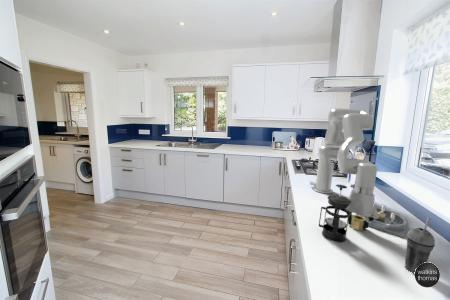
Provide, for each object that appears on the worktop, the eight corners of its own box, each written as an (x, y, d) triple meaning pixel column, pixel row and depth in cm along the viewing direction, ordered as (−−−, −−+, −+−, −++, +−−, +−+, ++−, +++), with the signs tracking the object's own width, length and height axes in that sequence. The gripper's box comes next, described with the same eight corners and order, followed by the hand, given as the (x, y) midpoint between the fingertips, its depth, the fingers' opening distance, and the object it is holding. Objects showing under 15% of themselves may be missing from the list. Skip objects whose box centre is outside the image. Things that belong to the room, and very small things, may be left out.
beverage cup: (394, 263, 78) (405, 211, 75) (413, 263, 79) (424, 211, 76) (413, 278, 71) (426, 222, 68) (433, 278, 72) (447, 222, 68)
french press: (347, 234, 96) (355, 184, 92) (348, 245, 88) (357, 191, 84) (318, 226, 101) (325, 179, 97) (317, 236, 93) (324, 185, 89)
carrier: (352, 221, 109) (354, 207, 107) (361, 209, 123) (363, 197, 122) (403, 238, 95) (406, 222, 94) (406, 222, 110) (409, 209, 109)
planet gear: (348, 227, 102) (350, 217, 101) (351, 223, 106) (353, 213, 106) (362, 232, 99) (364, 221, 98) (364, 227, 103) (366, 217, 102)
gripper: (340, 186, 102) (335, 221, 105) (385, 197, 91) (377, 236, 94) (344, 183, 108) (339, 216, 111) (387, 193, 96) (380, 230, 100)
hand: (357, 225), depth 102 cm, fingers closed on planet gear, 5 cm apart
